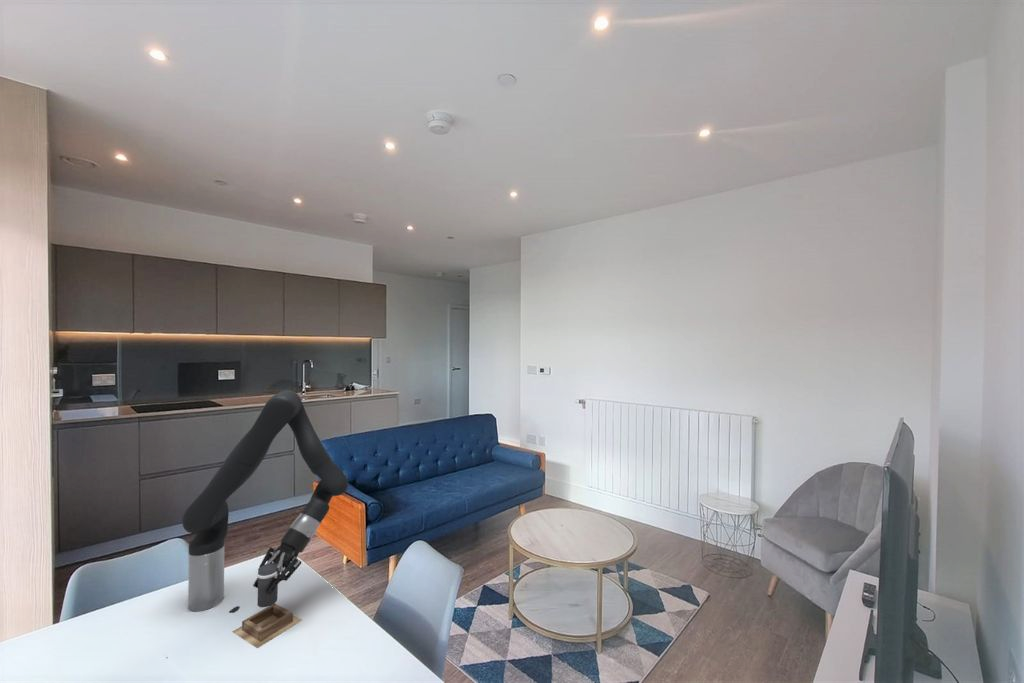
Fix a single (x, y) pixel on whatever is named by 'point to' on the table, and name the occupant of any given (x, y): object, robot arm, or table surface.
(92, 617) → the table surface
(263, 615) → the tiered wooden square base
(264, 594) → the dark grey banded cylinder
